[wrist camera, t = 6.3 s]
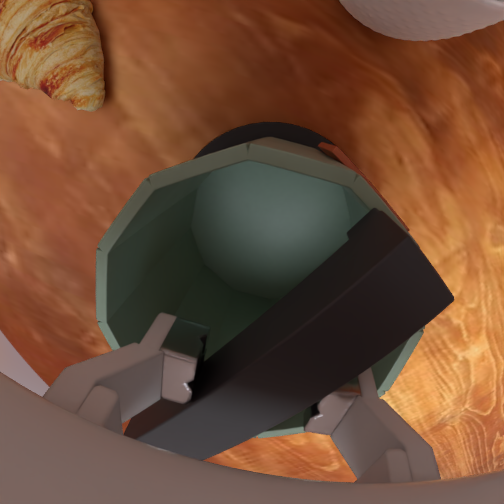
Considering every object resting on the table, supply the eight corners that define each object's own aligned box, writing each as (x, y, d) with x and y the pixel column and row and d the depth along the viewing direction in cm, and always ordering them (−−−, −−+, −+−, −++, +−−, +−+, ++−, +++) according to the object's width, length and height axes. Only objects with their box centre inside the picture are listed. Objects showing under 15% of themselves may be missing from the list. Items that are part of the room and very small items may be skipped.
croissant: (151, 85, 24) (151, 35, 16) (60, 162, 22) (25, 137, 15) (47, -20, 19) (33, -65, 11) (-26, 37, 17) (-55, 2, 10)
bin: (158, 225, 24) (5, 364, 8) (271, 100, 20) (232, 12, 4) (271, 325, 26) (250, 521, 11) (389, 223, 22) (523, 380, 7)
